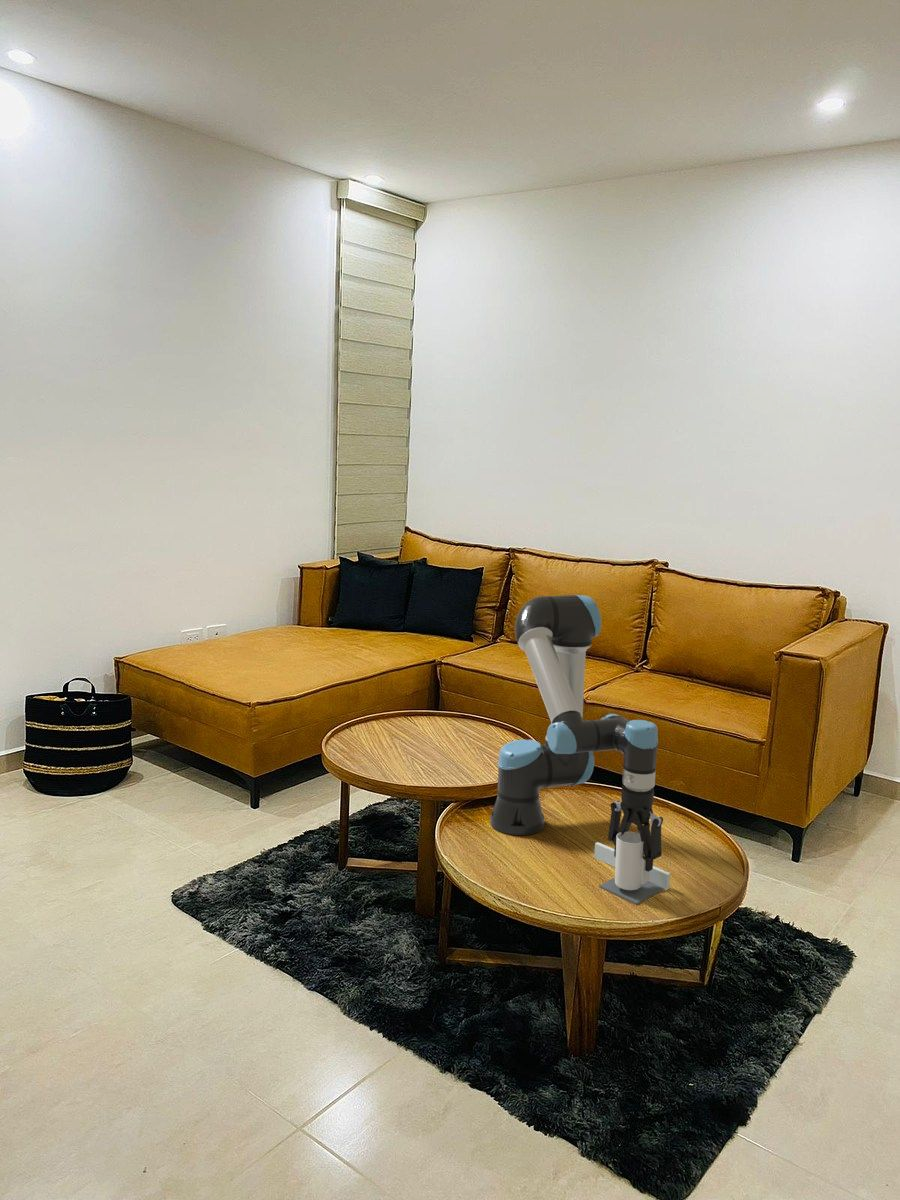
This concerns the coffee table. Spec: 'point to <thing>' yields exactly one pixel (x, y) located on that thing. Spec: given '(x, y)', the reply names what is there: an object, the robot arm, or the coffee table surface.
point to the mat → (632, 891)
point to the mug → (628, 860)
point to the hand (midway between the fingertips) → (632, 876)
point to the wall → (607, 856)
